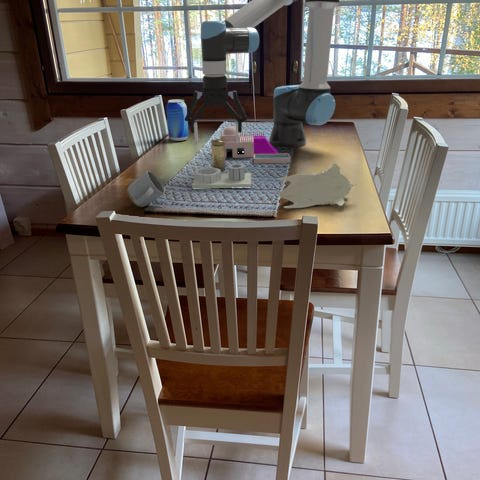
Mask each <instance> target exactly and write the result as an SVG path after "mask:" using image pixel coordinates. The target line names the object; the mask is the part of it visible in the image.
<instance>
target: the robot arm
mask: <svg viewBox="0 0 480 480" xmlns="http://www.w3.org/2000/svg"><path fill="white" fill-rule="evenodd" d="M296 1H297V0H251V1H249V2H247V3H246V4H245V5H244V6H241V8H240V9H238V10H236V11H235V12H234V13H232V14H231V15H230V16H228V17H227V18H226V19H224V20H204V21H202V22H201V23H200V25H201V26H200V43H201V44H200V45H201V63H202V64H201V66H202V69H201V71H202V75H204V76H203V77H202V86H203V87H202V88H203V89H202V92H201V91H198V90H195V91H194V92H193V95H192V96H193V97H192V101H191V104H190V106H189V108H188V109H187V115H186V117H185V121H188V123H190V132H191V133H192V134H194V135H193V136H194V144H198V143H199V136H198V135H199V134H198V133H199V132H198V121H197V119H198V118H199V116H201V114H202V112H203V111H204V110H205V109H206V107H207V106H210V107H214V106H216V107H221V106H222V105H223V107H224V108H225V109H226V110H227V111H228V112H229V113H230V115H231V116H232V117H233V118H234V120H236V121H235V128H236V143H238V133H239V134H240V133H241V134H242V132H243V131H242V130H243V129H242V127H243V122H247V121H248V116H247V114H246V112H245V110H244V108H243V105H242V104H241V102H240V100H239V97H238V94H237V93H238V92H237V90H233V91H228V84H227V83H228V78H227V76H226V74H227V55H229V54H249V53H254V52H256V51H257V50H258V48H259V45H260V35H259V32H258V30H257V28H255V27H257V26H258V25H259V24H260V23H262V22H263V21H265V20H266V19H267V18H269V17H270V16H271V15H273V14H274V13H275V12H277V11H278V10H279V9H281V8H282V7H283V6H290V5H291V4H293V3H294V2H296ZM304 3H305V5H306V7H308V16H307V18H308V19H307V30H306V41H305V56H304V67H303V79H302V82H301V83H300V84H295V85H293V84H292V85H291V84H290V85H282V86H277V87H276V88H274V91H273V97H272V98H273V126H272V130H271V132H270V135H269V139H268V141H269V142H270V143H271V145H272V146H274V148H278V147H280V148H279V149H296V148H300V147H304V146H306V145H307V137H306V134H305V130H304V127H303V123H305V124H308V125H311V126H322V125H324V124H327V122H329V120H330V119H331V118H332V116H333V115H334V113H335V109H336V100H335V97H334V96H333V95H332V94H331V86H330V85H329V83H328V75H329V72H328V71H329V63H330V54H331V53H330V52H331V44H332V43H331V42H332V33H333V32H332V31H333V22H334V12H335V9H336V8H337V7H338V6H339V5H340V0H304ZM201 97H202V99H203V100H204V101H203V103H202V105H201V106H200V107H199V109H197V111H196V112H195V114H194V115H193V116H192V117H191V115H192V113H193V111H194V109H195V106H196V104H197V102H198V100H199V99H200V98H201ZM228 97H230V98H231V99H232V100H233V101H234V104H235V106H236V108H237V109H238V111H239V114H240V115H241V116H240V115H239V114H238V113H237V112H236V110H235V109H234V108H233V106H231V105H230V103H229V102H228V101H227V99H228Z"/></svg>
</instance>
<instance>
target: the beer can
mask: <svg viewBox="0 0 480 480" xmlns="http://www.w3.org/2000/svg"><path fill="white" fill-rule="evenodd" d="M187 107H188V106H187V104H186V103H185V99H180V98H179V99H178V98H177V99H176V98H175V99H169V100H167V104H166V107H165V108H166V109H165V110H166V118H167V120H166V121H167V129H168V137H169V139H170V140H171V141H175V142H176V141H177V142H179V141H185V140H187V139H188V137H189V135H190V134H189V122H188V121H185V117H186V115H187V112H188V108H187Z"/></svg>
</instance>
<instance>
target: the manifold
mask: <svg viewBox="0 0 480 480" xmlns="http://www.w3.org/2000/svg"><path fill="white" fill-rule="evenodd" d="M245 169H246V168H245V164H243V163H242V164H241V163H230V164H229V165H228V167H227V170H228V172H226V173H225V172H221V170H220V169H218V168H213V167H212V166H211V167H201V168H198V169H197V168H196V170H195V171H194V178H193V181H192V184H191V189H192V188H232V187H251V188H252V172H245Z"/></svg>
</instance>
